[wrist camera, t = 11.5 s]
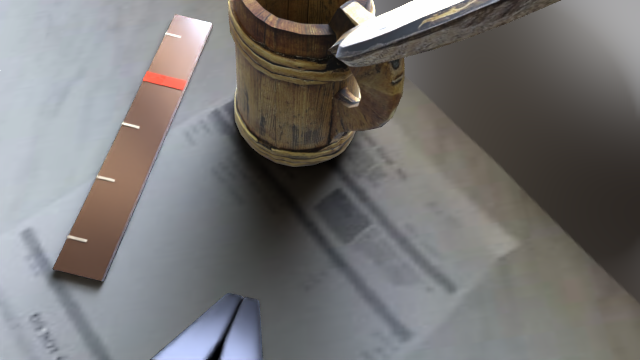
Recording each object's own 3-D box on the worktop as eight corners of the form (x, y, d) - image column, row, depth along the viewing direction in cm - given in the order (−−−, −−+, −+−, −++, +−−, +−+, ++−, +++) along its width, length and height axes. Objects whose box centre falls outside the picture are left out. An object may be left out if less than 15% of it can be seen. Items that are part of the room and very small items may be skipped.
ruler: (104, 281, 20) (100, 281, 19) (55, 269, 20) (51, 269, 19) (212, 25, 26) (211, 22, 26) (176, 16, 26) (174, 13, 26)
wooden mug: (317, 246, 21) (420, 83, 4) (213, 94, 24) (19, -374, 7) (419, 175, 23) (760, -127, 6) (312, 42, 26) (347, -411, 9)
